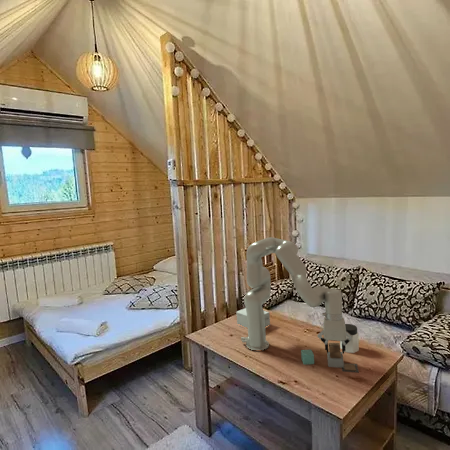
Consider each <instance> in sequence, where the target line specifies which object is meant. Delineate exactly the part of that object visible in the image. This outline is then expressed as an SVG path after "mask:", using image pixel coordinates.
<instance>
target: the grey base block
mask: <svg viewBox="0 0 450 450" xmlns="http://www.w3.org/2000/svg"><path fill="white" fill-rule="evenodd" d="M326 355H327V366H328V368H342V367H343V368H344V363H345V362H344V356H343V355H344V354H343V353H342V351H341V358H330V352H329V351H328V353H327V352H326Z"/></svg>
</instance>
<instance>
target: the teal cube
mask: <svg viewBox="0 0 450 450" xmlns="http://www.w3.org/2000/svg"><path fill="white" fill-rule="evenodd" d="M300 357H301V361H302V364H303V365H314V364H315V355H314V352H313V351H312V349H301V350H300Z"/></svg>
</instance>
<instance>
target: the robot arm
mask: <svg viewBox="0 0 450 450" xmlns="http://www.w3.org/2000/svg"><path fill="white" fill-rule="evenodd" d="M298 252H299V247H298V246H297V244H296V243H295V242H293V241H292V240H287V239H280V238H278V237H272V236H271V237H266V238H263V239H260V240H257V241H255V242H253V243H251V244H250V245H249V246H248V247H247V249H246V255H245V258H246V284H247V286H248V287H250V288H251V289H250V290H249V291H248V292H246V293H245V295H244V298H243V301H244V306H245V308H246V312H247V325H248V329H247V336H246V337H244V336H241V337H240V341H241V342H242V343H245V347H246V346H247V347H248V348H249V349H251V350H250V351H252V350H262V351H265V350H267V349H268V348H269V347H270V342H269V341H268V340H267V338H266V337H267V336H266V335H267V334H266V328H265V317H264V311H265V310H264V308H263V305H264V304H265V303H266V302H267V301H269V299H270V298H271V297H270V296H271V280H272V279H271V277H272V276H271V273H270V270H269V269H268V268H267V267H265V266H263V259H262V258H263V257H266V256H269V255H271V254H275V255H276V258H277V259H278V261H280V263H281V264H282V265H283V267H284V268H285V270H286V271H287V272H288V273H289V275H290V276H291V278H292V283H293V285H294V288H295V290H296V292H297V294H298V296H299V297H301V298H300V299H301V300H302V301H304V303H305V304H306V305H307V306H309V307H310V308H318V307H320V305H321V304H322V303H324V306H325V307H324V309H325V312H322V316H323V317H324V318H323V324H322V325H323V326H322V330H321V331H320V332H318V334H317V338H318V339H319V340H320V341H321V342H322V343H323V344H324V350H325V351H326V354H327V353H328V352H329V341H333V342H334V341H335V342H340V341H342V349H341V352H342V354H343V355H344V354H345V352H344V351H346V349H345V346H346V344H347V343H348V342H349V341H350V340H351V339H352V336H351V335H350V334H349V333H348V332H347V331H346V326H345V324H346V320H345V318H344V317H343V299H342V298H343V294H342V291H341V290H340V289H338V288H337V289H336V288H327V287H324V286H322V285H321V286H320V285H319V286H318V285H317V286H314V287H312V286H311V284H310V283H309V280H308V277H307V266H306V265H305V263H304V262H303V261H302V260H301V258H300V257H299V255H298ZM263 310H264V311H263ZM346 336H348V338H347V339H346ZM247 347H246V348H247ZM248 348H247V349H248ZM249 349H248V350H249ZM264 349H265V350H264Z"/></svg>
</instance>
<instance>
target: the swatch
mask: <svg viewBox="0 0 450 450" xmlns="http://www.w3.org/2000/svg"><path fill="white" fill-rule="evenodd" d="M341 371H342V373H343V372H344V373H345V372H347V373H359V372H360V371H359V368H358V364H357V363H350V362H349V363H347V362H344V368H343V367H341Z"/></svg>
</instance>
